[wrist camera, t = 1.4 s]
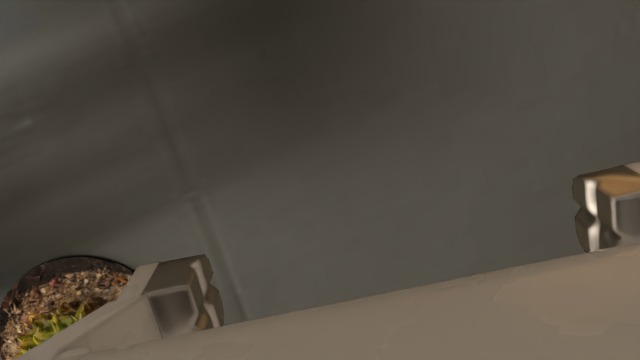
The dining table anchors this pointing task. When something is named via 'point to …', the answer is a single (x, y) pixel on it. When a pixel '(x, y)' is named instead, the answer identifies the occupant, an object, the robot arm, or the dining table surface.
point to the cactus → (56, 300)
